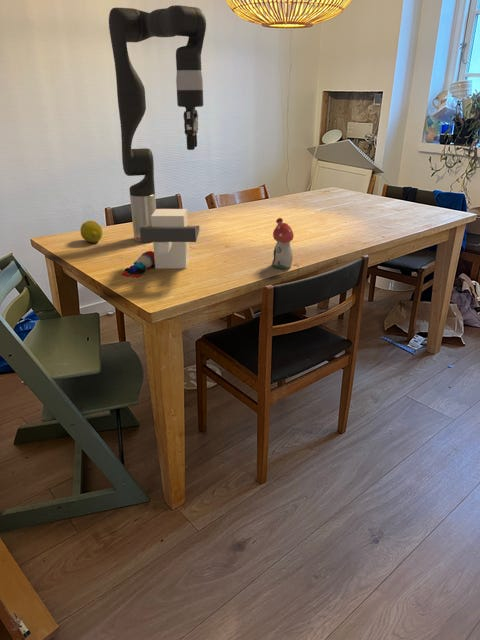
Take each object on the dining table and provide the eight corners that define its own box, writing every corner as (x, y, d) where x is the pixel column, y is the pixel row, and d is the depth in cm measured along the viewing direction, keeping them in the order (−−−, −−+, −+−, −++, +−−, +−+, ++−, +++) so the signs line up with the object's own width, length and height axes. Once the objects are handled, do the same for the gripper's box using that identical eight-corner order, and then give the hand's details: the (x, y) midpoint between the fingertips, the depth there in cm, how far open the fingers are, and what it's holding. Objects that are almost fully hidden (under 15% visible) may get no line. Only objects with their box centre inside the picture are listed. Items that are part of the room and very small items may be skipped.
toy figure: (140, 283, 147) (165, 261, 158) (136, 269, 144) (161, 247, 155) (120, 281, 150) (146, 260, 161) (116, 267, 147) (142, 246, 158)
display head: (148, 258, 163) (144, 208, 156) (201, 258, 163) (199, 208, 156) (135, 281, 143) (129, 225, 136) (195, 281, 143) (192, 225, 136)
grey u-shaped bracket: (149, 230, 151) (147, 217, 149) (199, 230, 150) (199, 217, 149) (141, 241, 139) (139, 228, 137) (195, 241, 139) (195, 228, 137)
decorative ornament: (271, 260, 161) (272, 216, 154) (290, 260, 161) (292, 216, 154) (272, 270, 152) (274, 223, 146) (293, 270, 152) (295, 223, 146)
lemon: (105, 244, 179) (102, 223, 175) (83, 246, 176) (80, 225, 173) (101, 237, 188) (98, 216, 184) (80, 239, 185) (77, 218, 182)
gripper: (200, 88, 130) (202, 150, 137) (204, 88, 143) (206, 146, 150) (173, 88, 130) (176, 150, 137) (179, 88, 143) (182, 146, 150)
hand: (192, 148), depth 144 cm, fingers open, 8 cm apart
